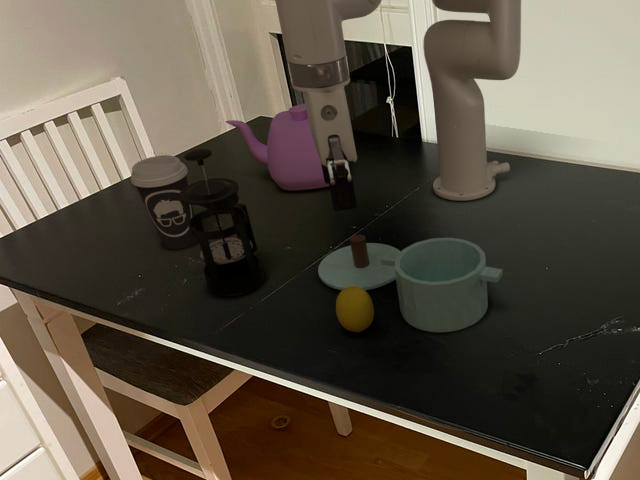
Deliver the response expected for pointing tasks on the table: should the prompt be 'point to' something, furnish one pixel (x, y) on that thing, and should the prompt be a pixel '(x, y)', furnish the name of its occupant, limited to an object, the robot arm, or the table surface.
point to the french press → (223, 233)
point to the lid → (357, 265)
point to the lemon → (354, 309)
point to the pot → (442, 283)
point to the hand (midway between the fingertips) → (340, 194)
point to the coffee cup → (165, 198)
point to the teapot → (287, 150)
